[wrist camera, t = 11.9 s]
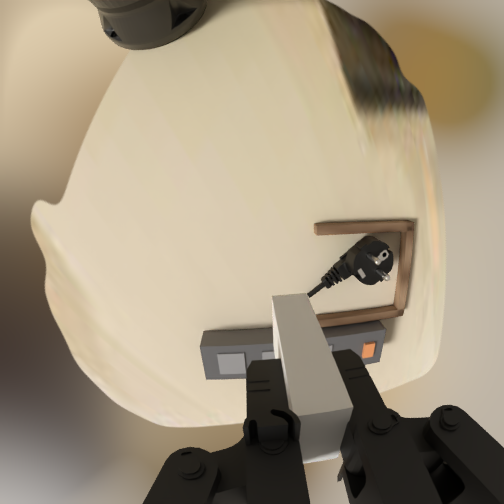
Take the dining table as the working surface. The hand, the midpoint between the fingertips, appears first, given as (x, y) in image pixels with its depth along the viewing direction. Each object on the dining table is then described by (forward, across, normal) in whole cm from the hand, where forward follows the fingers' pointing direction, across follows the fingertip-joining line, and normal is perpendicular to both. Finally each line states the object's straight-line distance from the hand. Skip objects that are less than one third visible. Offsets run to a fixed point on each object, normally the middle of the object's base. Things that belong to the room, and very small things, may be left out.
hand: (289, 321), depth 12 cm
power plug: (+20, +6, -11) cm, 23 cm away
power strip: (+23, +4, -19) cm, 30 cm away
